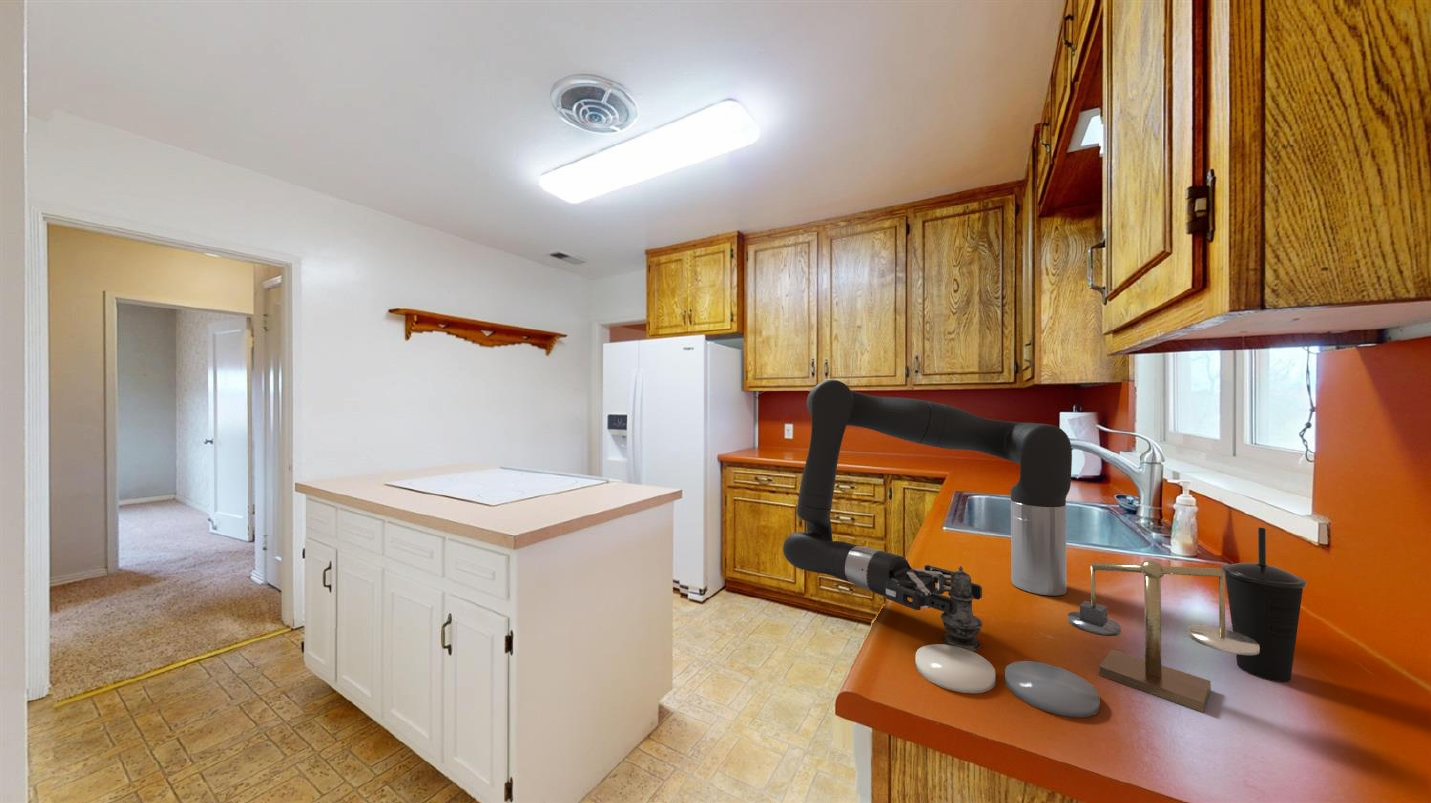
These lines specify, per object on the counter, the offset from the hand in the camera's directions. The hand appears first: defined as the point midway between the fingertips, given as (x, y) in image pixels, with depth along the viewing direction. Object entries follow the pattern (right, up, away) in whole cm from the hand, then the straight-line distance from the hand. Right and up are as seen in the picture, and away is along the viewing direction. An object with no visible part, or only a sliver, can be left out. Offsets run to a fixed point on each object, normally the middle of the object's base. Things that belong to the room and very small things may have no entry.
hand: (969, 600), depth 73 cm
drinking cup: (+37, -7, -8) cm, 38 cm away
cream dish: (-6, -7, -7) cm, 12 cm away
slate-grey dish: (+4, -7, -12) cm, 14 cm away
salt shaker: (-1, -7, +1) cm, 7 cm away
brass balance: (+19, -7, -10) cm, 23 cm away
